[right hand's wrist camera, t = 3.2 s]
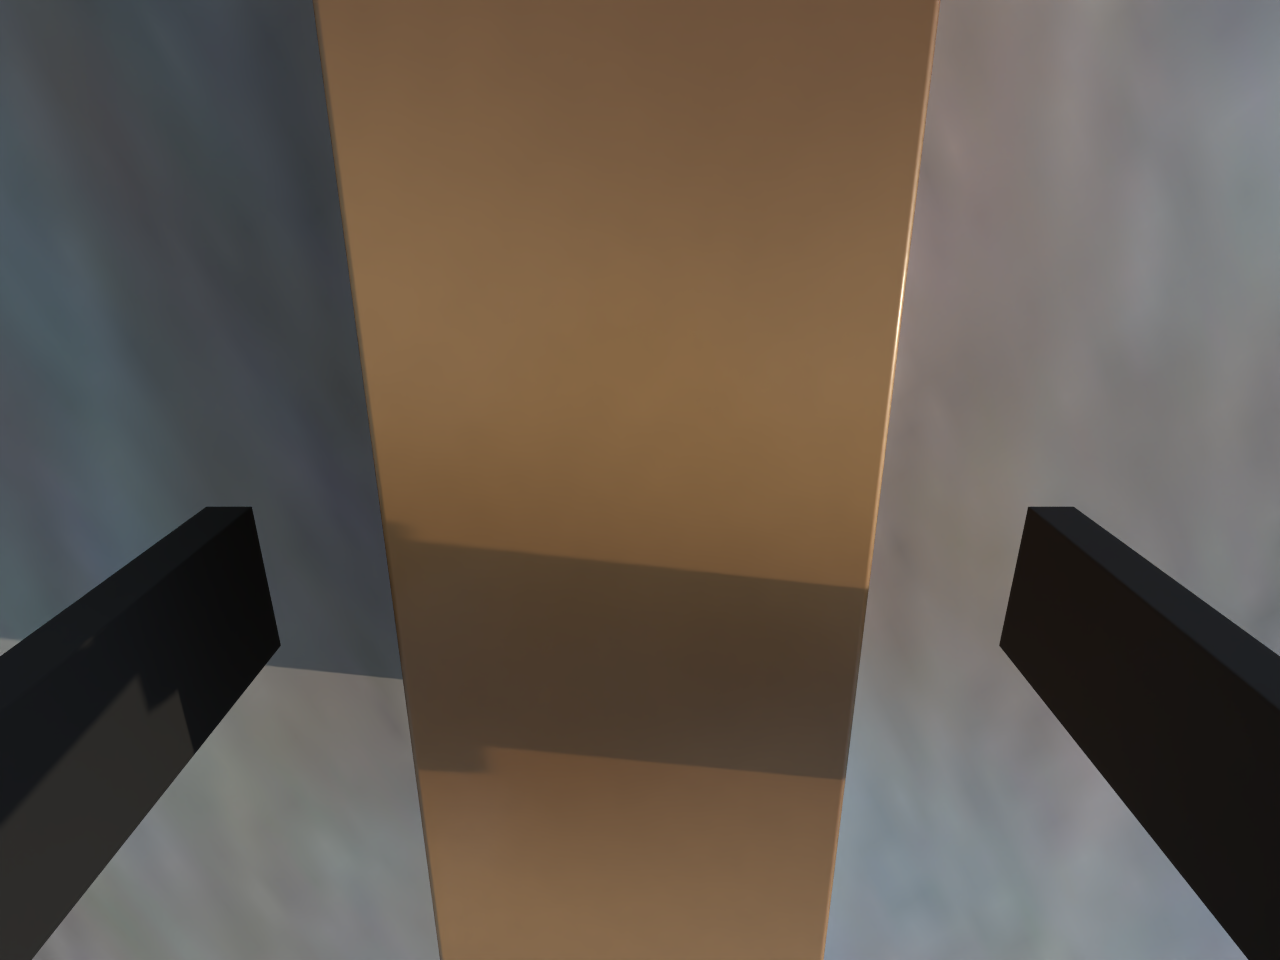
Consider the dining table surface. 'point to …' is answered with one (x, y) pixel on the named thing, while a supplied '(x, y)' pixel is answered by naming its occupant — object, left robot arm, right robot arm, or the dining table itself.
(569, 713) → the post
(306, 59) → the dining table surface
